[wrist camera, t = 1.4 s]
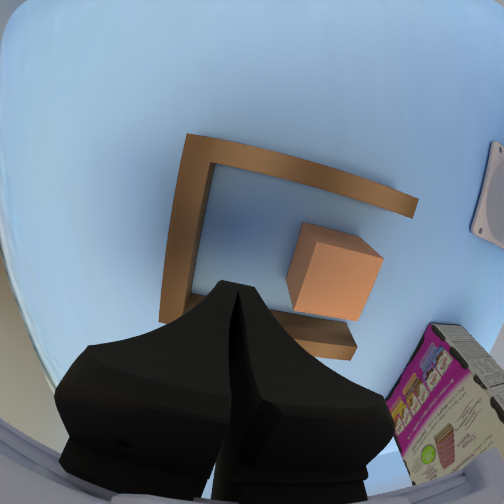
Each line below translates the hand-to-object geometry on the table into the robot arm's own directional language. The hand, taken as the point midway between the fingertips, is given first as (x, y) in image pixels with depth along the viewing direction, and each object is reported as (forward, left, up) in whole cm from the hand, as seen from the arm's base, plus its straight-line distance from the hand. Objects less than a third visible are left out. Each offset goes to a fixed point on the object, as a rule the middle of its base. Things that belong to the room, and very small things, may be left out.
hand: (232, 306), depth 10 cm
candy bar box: (-20, +9, -8) cm, 23 cm away
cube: (-6, 0, -8) cm, 10 cm away
